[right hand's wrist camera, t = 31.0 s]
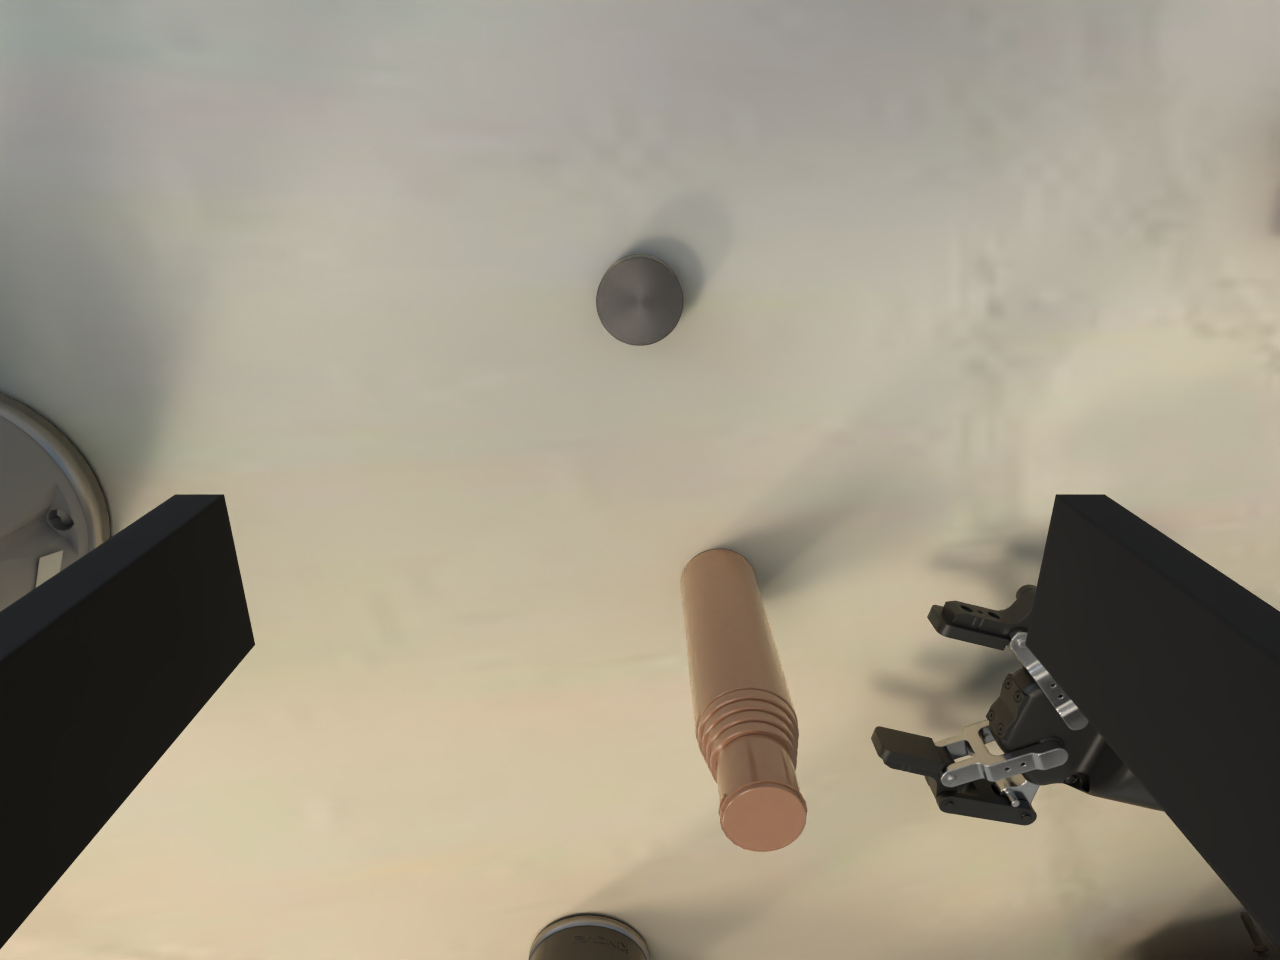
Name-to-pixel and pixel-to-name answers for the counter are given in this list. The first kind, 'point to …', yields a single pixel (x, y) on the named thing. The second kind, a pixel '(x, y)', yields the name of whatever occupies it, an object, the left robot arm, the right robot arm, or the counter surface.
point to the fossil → (1255, 937)
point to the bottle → (741, 703)
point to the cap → (639, 300)
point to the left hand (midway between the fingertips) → (904, 682)
